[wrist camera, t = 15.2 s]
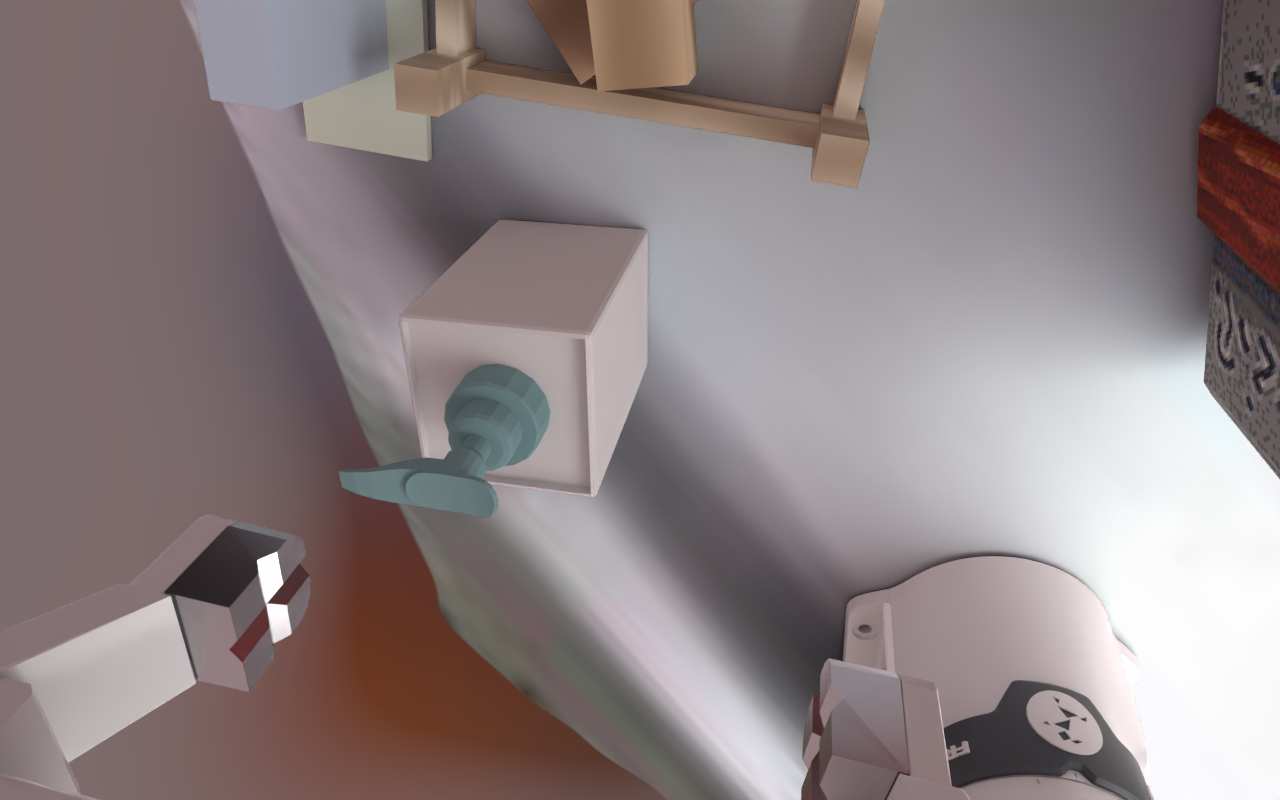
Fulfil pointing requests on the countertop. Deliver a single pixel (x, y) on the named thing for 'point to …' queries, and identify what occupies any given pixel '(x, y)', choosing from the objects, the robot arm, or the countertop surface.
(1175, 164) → the countertop surface
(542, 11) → the offcut lower
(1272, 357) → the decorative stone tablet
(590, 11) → the offcut upper
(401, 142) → the mat
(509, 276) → the soap bottle
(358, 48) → the lavender grey box
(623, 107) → the rack
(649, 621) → the countertop surface
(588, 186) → the countertop surface
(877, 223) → the countertop surface
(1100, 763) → the robot arm
